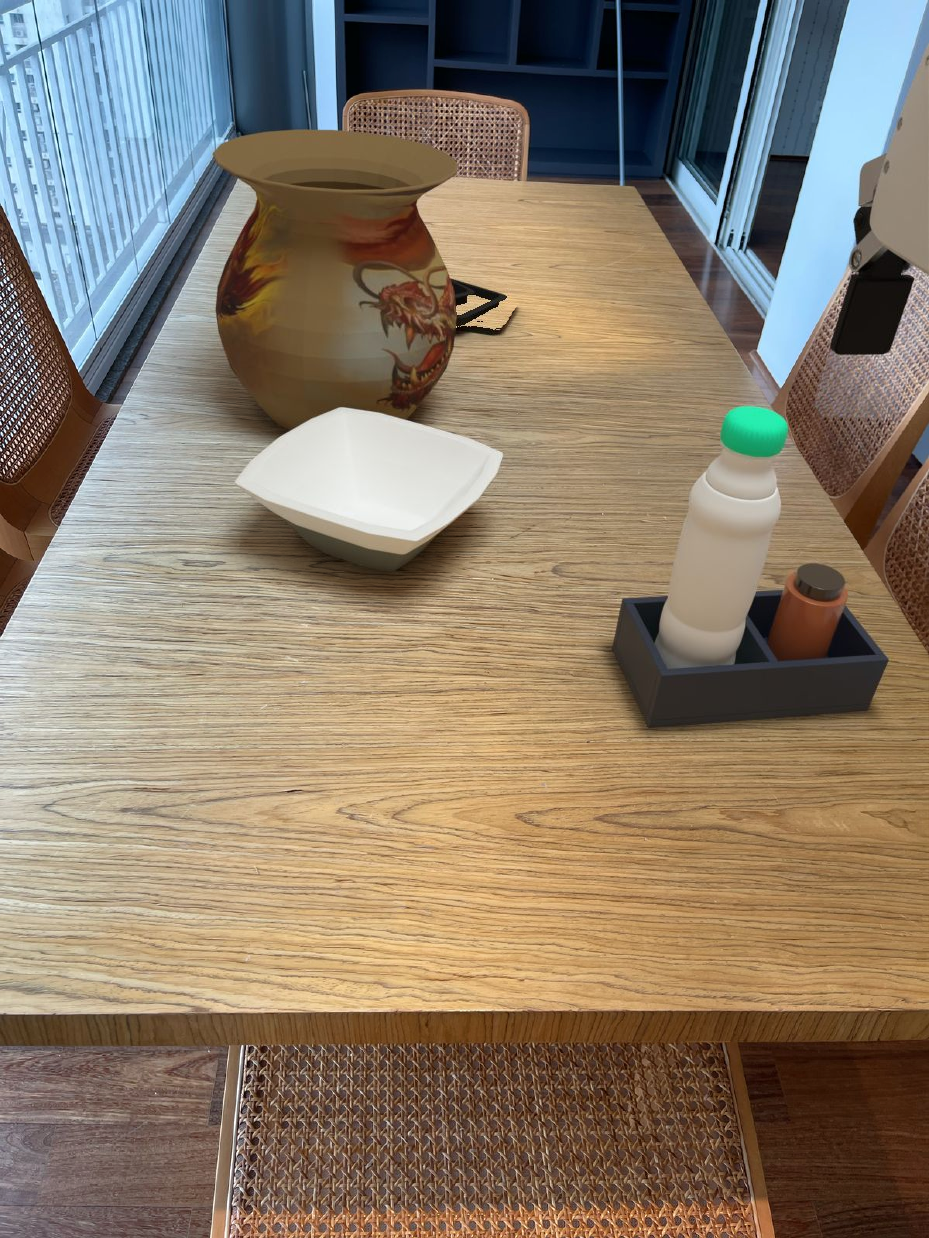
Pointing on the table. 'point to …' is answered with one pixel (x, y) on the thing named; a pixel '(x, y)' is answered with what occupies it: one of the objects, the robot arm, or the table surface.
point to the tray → (461, 298)
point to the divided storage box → (745, 671)
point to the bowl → (369, 484)
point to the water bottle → (723, 543)
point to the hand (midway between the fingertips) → (907, 393)
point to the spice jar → (808, 613)
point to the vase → (335, 274)
